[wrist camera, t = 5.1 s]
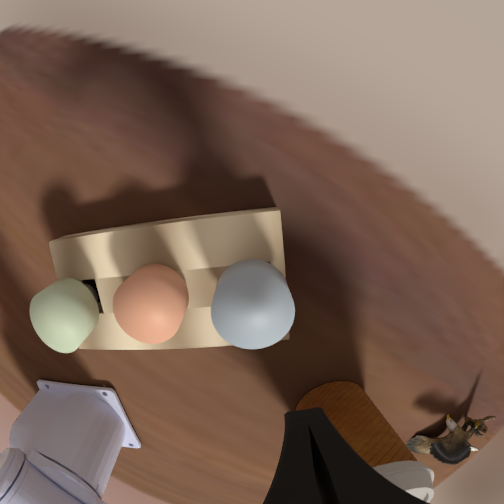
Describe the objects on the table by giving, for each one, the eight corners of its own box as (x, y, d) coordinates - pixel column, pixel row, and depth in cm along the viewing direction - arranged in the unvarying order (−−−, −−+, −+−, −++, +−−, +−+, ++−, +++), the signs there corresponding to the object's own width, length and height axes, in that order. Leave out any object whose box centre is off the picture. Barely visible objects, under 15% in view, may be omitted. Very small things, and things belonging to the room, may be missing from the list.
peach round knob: (145, 312, 19) (123, 344, 15) (132, 258, 18) (105, 280, 14) (198, 308, 19) (187, 342, 15) (189, 252, 18) (173, 274, 14)
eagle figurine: (482, 389, 22) (423, 434, 21) (505, 436, 17) (448, 487, 16) (451, 408, 27) (397, 444, 26) (472, 448, 23) (418, 488, 21)
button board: (90, 336, 20) (79, 348, 18) (64, 235, 18) (48, 241, 16) (286, 324, 20) (289, 339, 18) (276, 206, 18) (280, 210, 16)
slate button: (223, 314, 18) (217, 352, 14) (214, 253, 17) (204, 278, 13) (285, 307, 18) (296, 344, 14) (281, 246, 17) (292, 269, 13)
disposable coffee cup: (288, 362, 21) (318, 502, 9) (397, 363, 21) (468, 465, 10) (267, 441, 23) (276, 553, 11) (361, 438, 24) (397, 532, 12)
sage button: (73, 321, 18) (42, 351, 14) (58, 270, 17) (22, 292, 13) (117, 320, 18) (90, 354, 14) (103, 265, 17) (69, 289, 13)
